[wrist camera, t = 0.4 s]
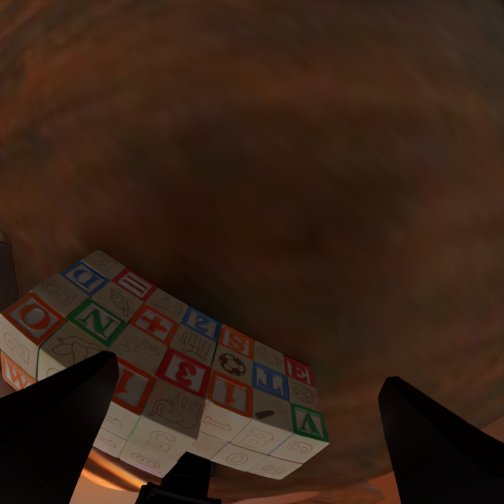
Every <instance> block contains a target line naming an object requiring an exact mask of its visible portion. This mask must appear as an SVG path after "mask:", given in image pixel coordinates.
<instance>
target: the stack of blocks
mask: <svg viewBox="0 0 504 504" xmlns="http://www.w3.org/2000/svg"><path fill="white" fill-rule="evenodd" d="M0 349H1V366H2V374H3V378H4V380H5V381H7V382H8V383H9V384H10V385H11V386H12V387H13V388H15V389H16V390H17V391H18V390H20V389H23V388H25V387H27V386H29V385H31V384H34V383H36V382H38V381H40V380H42V379H44V378H46V377H49V376H51V375H53V374H55V373H57V372H59V371H61V370H63V369H66V368H68V367H70V366H72V365H74V364H76V363H78V362H80V361H82V360H84V359H86V358H89V357H91V356H93V355H95V354H97V353H99V352H101V351H103V350H107V351H111V352H114V353H115V354H116V356H117V361H118V367H119V379H118V382H117V385H116V388H115V391H114V394H113V397H112V400H111V403H110V406H109V409H108V412H107V415H106V417H105V419H104V421H103V424H102V426H101V428H100V430H99V433H98V435H97V437H96V439H95V442H94V444H93V446H95V447H96V448H98V449H100V450H102V451H104V452H106V453H108V454H110V455H112V456H114V457H119V458H120V459H121V460H122V461H124V462H126V463H129V464H131V465H133V466H135V467H137V468H139V469H142V470H144V471H146V472H149V473H151V474H153V475H156V476H158V477H161V478H163V477H164V476H165V475H166V474H167V473H168V472H169V471H170V470H171V469H172V468H173V466H174V465H175V464H176V463H177V462H178V460H179V458H180V457H181V456H182V455H183V454H184V453H185V452H186V451H187V452H190V453H192V454H195V455H198V456H200V457H203V458H206V459H209V460H211V461H213V462H216V463H219V464H222V465H225V466H229V467H232V468H235V469H238V470H241V471H248V472H250V473H254V474H258V475H262V476H265V477H269V478H274V479H278V480H280V479H282V478H284V477H285V476H287V475H288V474H290V473H291V472H293V471H294V470H296V469H297V468H299V467H300V466H301V465H302V464H303V463H304V462H306V461H307V460H309V459H310V458H311V457H313V456H314V455H315V454H317V453H318V452H319V451H321V450H322V449H323V448H324V447H326V446H327V445H328V444H329V437H328V432H327V427H326V423H325V419H324V415H323V414H322V413H321V407H320V402H319V398H318V393H317V389H316V388H315V383H314V378H313V373H312V370H311V367H309V366H307V365H304V364H302V363H300V362H298V361H295V360H293V359H291V358H288V357H287V356H283V354H282V353H280V352H278V351H276V350H274V349H272V348H270V347H268V346H266V345H264V344H262V343H260V342H258V341H254V340H253V339H252V338H250V337H248V336H246V335H244V334H242V333H240V332H239V331H237V330H235V329H233V328H231V327H229V326H227V325H225V324H221V323H220V322H218V321H216V320H214V319H212V318H210V317H209V316H207V315H205V314H203V313H201V312H200V311H198V310H196V309H194V308H193V307H190V306H188V305H187V304H185V303H183V302H181V301H180V300H178V299H176V298H174V297H173V296H171V295H169V294H168V293H166V292H164V291H162V290H161V289H159V288H157V286H155V285H154V284H152V283H151V282H149V281H147V280H146V279H144V278H142V277H141V276H139V275H138V274H136V273H134V272H133V271H131V270H129V269H128V268H126V267H125V266H124V265H122V264H121V263H119V262H118V261H116V260H114V259H113V258H111V257H110V256H108V255H107V254H105V253H104V252H102V251H101V250H96V251H94V252H93V253H91V254H89V255H87V256H86V257H84V258H82V259H81V260H80V261H78V262H77V263H75V264H73V265H72V266H70V267H68V268H67V269H65V270H63V271H61V272H60V273H58V274H55V275H53V276H52V277H50V278H48V279H47V280H45V281H43V282H42V283H40V284H39V285H37V286H36V287H34V288H33V289H31V290H30V293H29V294H27V295H26V296H24V297H23V298H21V299H20V300H18V301H17V302H15V303H14V304H12V305H11V306H9V307H8V308H6V309H5V310H4V311H2V312H1V314H0Z"/></svg>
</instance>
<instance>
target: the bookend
mask: <svg viewBox="0 0 504 504" xmlns="http://www.w3.org/2000/svg"><path fill="white" fill-rule="evenodd" d="M18 300H19V296H18V290H17V285H16V279H15V272H14V265H13V257H12V248H11V244H8V243H3V242H0V314H1V312H2V311H4V310H5V309H6V308H8V307H9V306H11V305H12V304H14V303H15V302H17V301H18ZM1 370H2V366H1V349H0V371H1Z"/></svg>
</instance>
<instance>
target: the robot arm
mask: <svg viewBox="0 0 504 504" xmlns="http://www.w3.org/2000/svg"><path fill="white" fill-rule="evenodd" d="M118 379H119V367H118V361H117V356H116V354H115V353H114V352H111V351H107V350H103V351H101V352H99V353H97V354H95V355H93V356H91V357H89V358H86V359H84V360H82V361H80V362H78V363H76V364H74V365H72V366H70V367H68V368H66V369H63V370H61V371H59V372H57V373H55V374H53V375H51V376H49V377H46V378H44V379H42V380H40V381H38V382H36V383H34V384H31V385H29V386H27V387H25V388H23V389H20V390H18V391H16V392H14V393H11V394H9V395H7V396H4V397H2V398H0V504H69V502H70V500H71V497H72V495H73V492H74V489H75V487H76V484H77V482H78V479H79V477H80V474H81V472H82V470H83V467H84V465H85V462H86V460H87V458H88V455H89V453H90V451H91V448H92V446H93V444H94V442H95V439H96V437H97V435H98V433H99V430H100V428H101V426H102V424H103V421H104V419H105V417H106V415H107V412H108V409H109V406H110V403H111V400H112V397H113V394H114V391H115V388H116V385H117V382H118ZM378 402H379V408H380V413H381V419H382V425H383V431H384V436H385V440H386V444H387V448H388V451H389V455H390V459H391V463H392V467H393V471H394V475H395V479H396V482H397V487H398V491H399V496H400V500H401V504H504V443H503V442H501V441H499V440H496V439H495V438H493V437H491V436H489V435H487V434H486V433H484V432H482V431H481V430H479V429H477V428H476V427H474V426H473V425H471V424H470V423H469V424H468V422H466V421H465V420H463V419H462V418H460V417H459V416H457V415H456V414H454V413H453V412H451V411H450V410H448V409H446V408H445V407H443V406H442V405H440V404H439V403H437V402H436V401H434V400H433V399H431V398H430V397H428V396H427V395H425V394H424V393H422V392H421V391H419V390H418V389H416V388H415V387H413V386H412V385H410V384H409V383H407V382H406V381H404V380H403V379H401V378H400V377H398V376H394V377H388V378H387V379H386V380H385V382H384V384H383V386H382V389H381V391H380V393H379V396H378ZM214 469H215V462H213V461H211V460H209V459H206V458H203V457H200V456H198V455H195V454H192V453H190V452H187V451H186V452H185V453H184V454H183V455H182V456H181V457H180V458H179V460H178V462H177V463H176V464H175V465H174V466H173V468H172V469H171V470H170V471H169V472H168V473H167V474H166V475H165V476H164V477H163V478H162V479H161V483H160V486H159V485H156V484H153V483H151V482H148V483H147V485H142V486H141V490H140V493H139V496H138V498H137V500H136V503H135V504H221V499H217V498H216V499H213V498H208V497H207V495H208V488H209V480H210V477H213V476H214Z"/></svg>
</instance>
